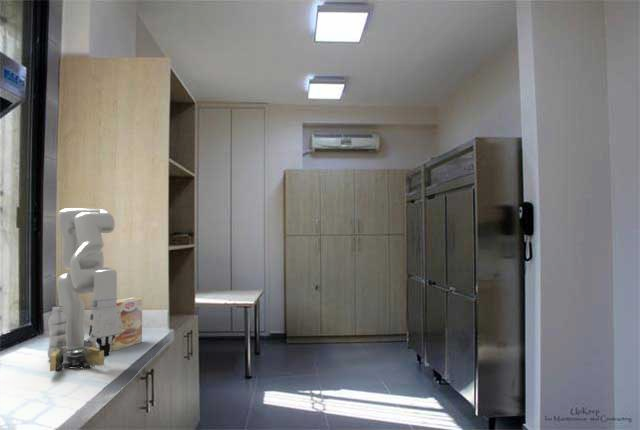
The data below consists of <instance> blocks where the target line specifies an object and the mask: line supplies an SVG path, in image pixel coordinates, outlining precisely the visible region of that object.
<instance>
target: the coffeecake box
mask: <svg viewBox="0 0 640 430" xmlns="http://www.w3.org/2000/svg"><path fill="white" fill-rule="evenodd" d="M117 306H119V309H120V314H121V323H122V331H121V333H120V335H119V336H118V337H115V338H114V339H113V340H112V343H111V344H110V351H118V350H121V349H124V348H126V347H127V348H128V347H130V346H133V345H136V344H140V343H142V342H143V298H142V297H129V298H123V299H121V298H120V299H117Z"/></svg>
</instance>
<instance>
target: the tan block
mask: <svg viewBox="0 0 640 430" xmlns="http://www.w3.org/2000/svg"><path fill="white" fill-rule="evenodd" d="M82 350H83V356H82V362H83V368H84V369H83V368H82V369H83V370H88V368H89V369H91V365H95V366H98V367H101V366H104V365H105V357H104V350H101V349H99V348H96V347H95V348H93V347H91V346H85V347H83V348H82Z"/></svg>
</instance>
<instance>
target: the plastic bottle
mask: <svg viewBox="0 0 640 430" xmlns="http://www.w3.org/2000/svg"><path fill="white" fill-rule="evenodd" d="M63 308H64V307H63V306H59V305H57V306H53V307H52V308H51V309H52V310H51V311H52V314H51V315H50V316H49V318H48V321H47V324H48V325H47V327H48V331H49V332H48V333H49V341H48V342H49V343H48V348H47V357H48V359H49V360H50V356H51V355H52V353H53V352H54V349H56V348H63V354H65V353H68V352H69V350H67V345H66V326H67V317H66V316H65V314H64V313H63V311H64V310H63Z"/></svg>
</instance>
